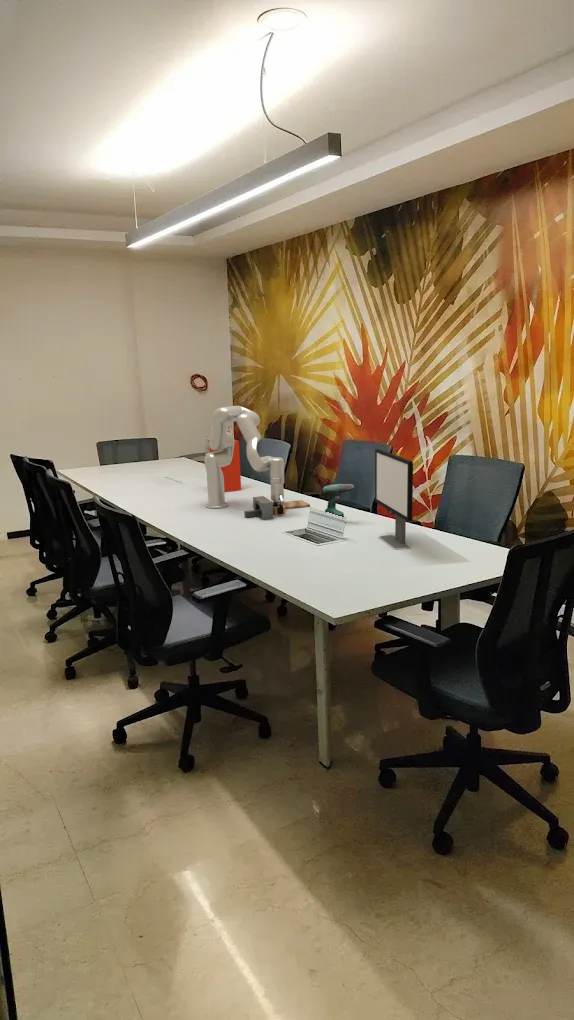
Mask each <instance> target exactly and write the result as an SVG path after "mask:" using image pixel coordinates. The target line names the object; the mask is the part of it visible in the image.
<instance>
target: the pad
mask: <svg viewBox="0 0 574 1020" xmlns="http://www.w3.org/2000/svg"><path fill="white" fill-rule="evenodd" d="M279 504H280V503H279ZM283 506H284V507H285V509H287V510H293V509H301V508H302V509H303V508H311V504H309V503H308V502H306V501H304V500H303V499H300V500H299V499H298V500H291V501H289V500H287V501H284V502H283Z"/></svg>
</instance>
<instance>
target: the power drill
mask: <svg viewBox="0 0 574 1020" xmlns="http://www.w3.org/2000/svg"><path fill="white" fill-rule="evenodd" d="M354 488H355V486H354V484H352V483H345V484H344V483H337V484H334V483H333V484H329V485H325V486H324V487H323V488H322V492H323V495H328V496H329V498H328V501H327V506H326V507H327V508H325V509H324V512H325V513H326V512H329V513H332V514H335V515H338V516H342V517H343V518H345V515H344V512H343V511H341V510H339V509H337V508H336V504H337V501H339V500H340V496H342V495H343V493H347V492H350V491H353V490H354Z"/></svg>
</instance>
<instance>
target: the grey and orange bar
mask: <svg viewBox="0 0 574 1020" xmlns="http://www.w3.org/2000/svg"><path fill="white" fill-rule="evenodd" d="M277 507H278V506H276V507H273V517H274V516H284V515H285V516H286V512H287V511H288V509H285V507H284V506H283V511H284V514H280V515H278V511H277ZM243 514H244V517H243V518H244V519H246V518H247V519H255V518H254V517H256V518H260V509H257V510H253V509H248V510H244V513H243Z"/></svg>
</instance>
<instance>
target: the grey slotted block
mask: <svg viewBox="0 0 574 1020" xmlns="http://www.w3.org/2000/svg"><path fill="white" fill-rule="evenodd" d="M252 504H253V507H252V510H257V509H260V517H259V519H260V520H262V521H266V520H267V521H269V520H274V516H273V501H272V500H271V499H269V498H267V497H266V496H264V495H260V496H253V497H252Z"/></svg>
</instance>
